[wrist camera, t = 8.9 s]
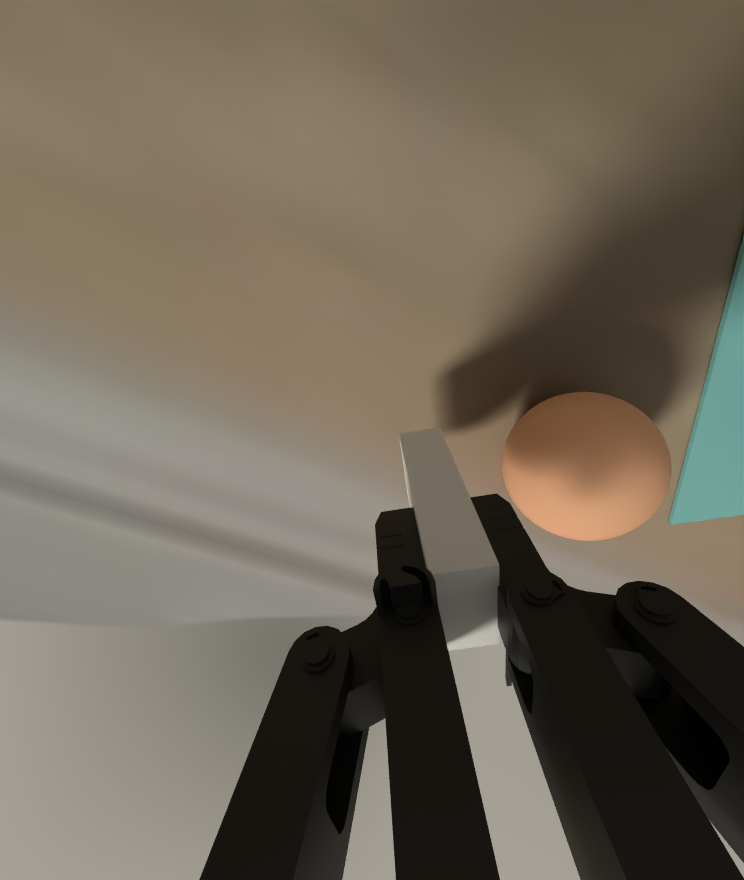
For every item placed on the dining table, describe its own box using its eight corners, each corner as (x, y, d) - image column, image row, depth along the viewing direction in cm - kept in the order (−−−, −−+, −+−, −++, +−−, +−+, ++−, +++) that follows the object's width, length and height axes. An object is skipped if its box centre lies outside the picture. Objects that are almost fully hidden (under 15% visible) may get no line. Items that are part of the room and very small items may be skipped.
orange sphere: (666, 582, 13) (615, 480, 18) (741, 452, 10) (656, 369, 15) (499, 563, 14) (490, 472, 19) (522, 440, 11) (505, 366, 16)
